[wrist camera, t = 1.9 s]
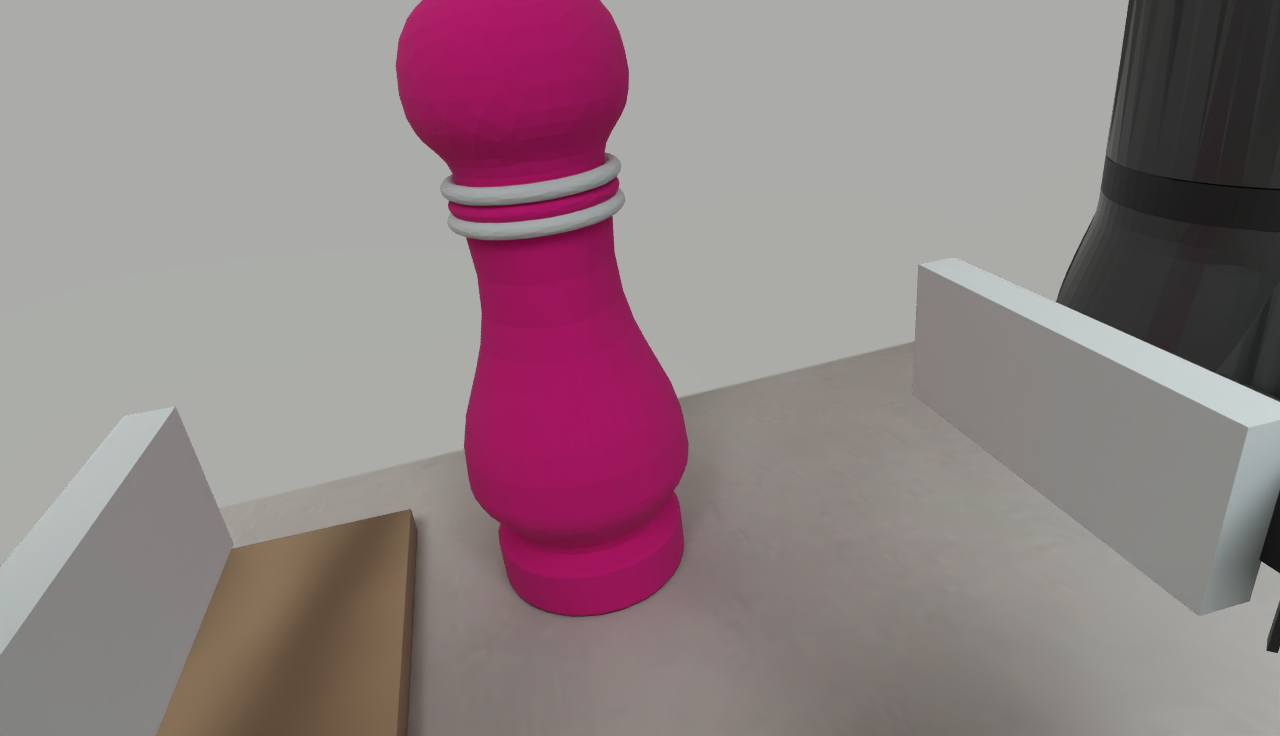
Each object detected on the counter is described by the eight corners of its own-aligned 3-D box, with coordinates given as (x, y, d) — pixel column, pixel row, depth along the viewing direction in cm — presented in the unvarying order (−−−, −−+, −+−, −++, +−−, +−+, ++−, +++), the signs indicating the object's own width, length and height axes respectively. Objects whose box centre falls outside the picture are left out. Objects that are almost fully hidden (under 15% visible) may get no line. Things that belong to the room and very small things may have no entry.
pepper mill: (449, 592, 26) (260, -84, 18) (570, 479, 32) (471, -78, 23) (631, 659, 22) (504, -148, 14) (731, 519, 28) (685, -123, 19)
